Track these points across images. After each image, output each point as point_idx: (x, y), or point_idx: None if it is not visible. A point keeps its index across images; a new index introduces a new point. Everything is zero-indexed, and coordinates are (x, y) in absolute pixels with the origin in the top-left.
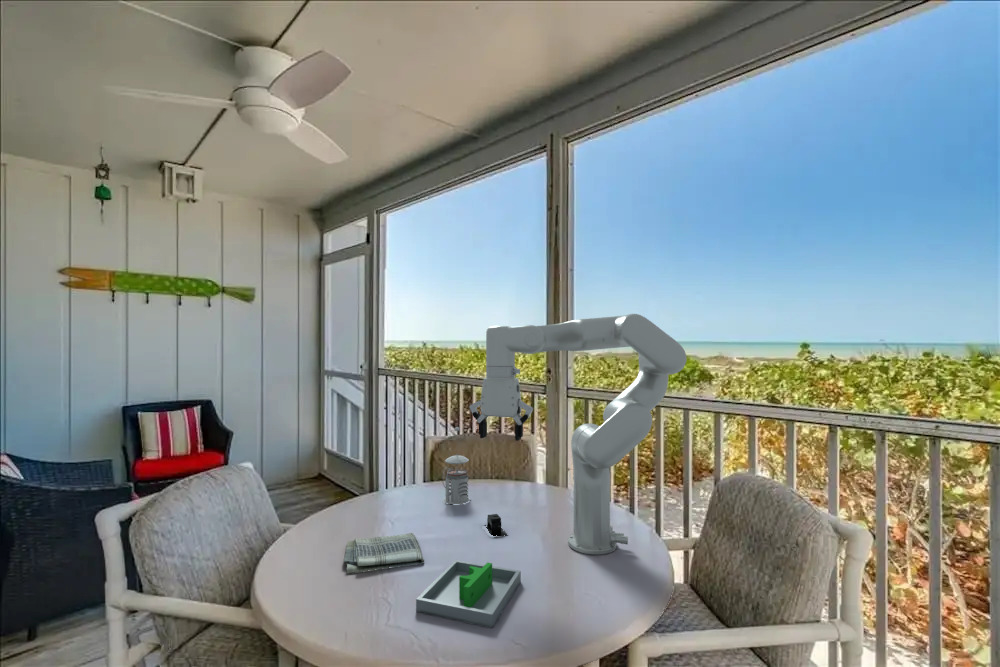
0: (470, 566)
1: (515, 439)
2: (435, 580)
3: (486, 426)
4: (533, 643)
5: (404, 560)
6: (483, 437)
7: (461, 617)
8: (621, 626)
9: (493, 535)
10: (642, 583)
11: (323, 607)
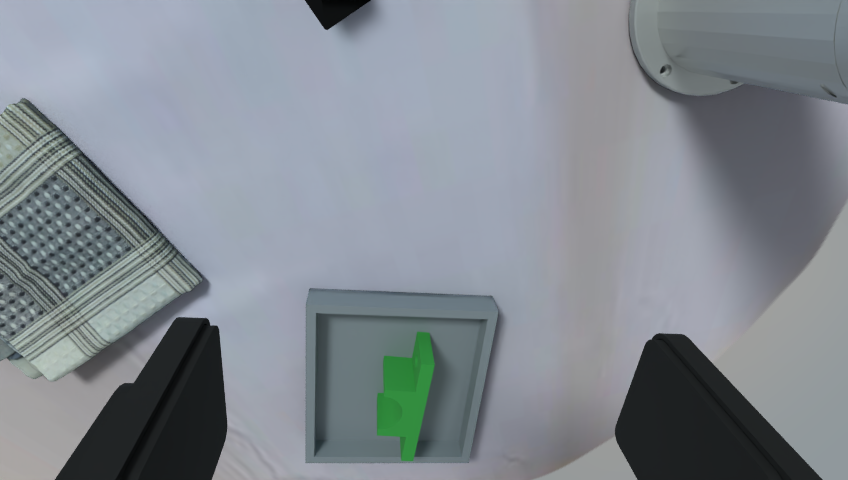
0: (384, 391)
1: (621, 442)
2: (307, 400)
3: (167, 433)
4: (537, 453)
5: (153, 313)
6: (224, 413)
7: None
8: None
9: (332, 5)
10: (787, 225)
11: None
